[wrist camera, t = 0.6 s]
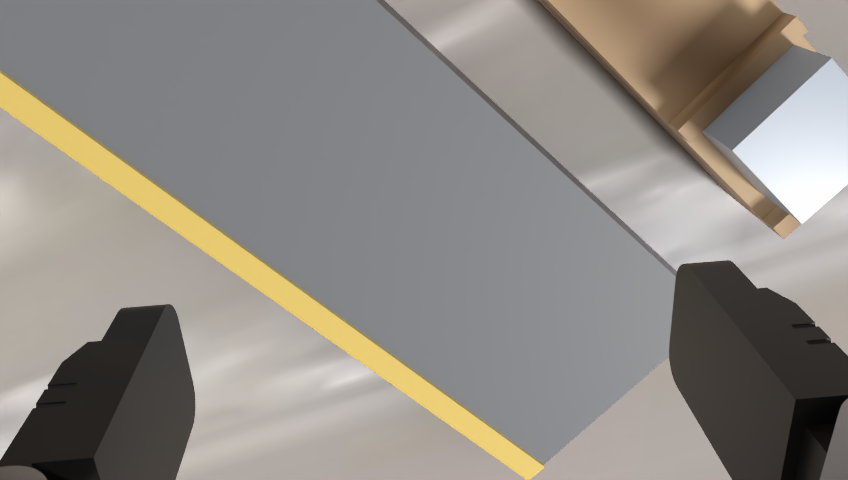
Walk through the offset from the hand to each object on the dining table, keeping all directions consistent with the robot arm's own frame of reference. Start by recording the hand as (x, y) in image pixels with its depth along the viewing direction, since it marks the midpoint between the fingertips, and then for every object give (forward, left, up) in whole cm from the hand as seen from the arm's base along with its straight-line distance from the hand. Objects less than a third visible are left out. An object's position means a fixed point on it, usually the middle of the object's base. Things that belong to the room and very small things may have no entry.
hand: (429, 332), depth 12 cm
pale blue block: (-9, +13, -20) cm, 25 cm away
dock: (+5, +4, -24) cm, 25 cm away
